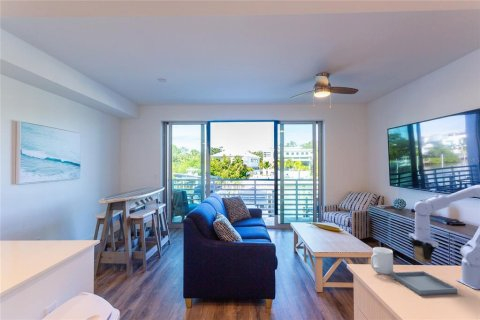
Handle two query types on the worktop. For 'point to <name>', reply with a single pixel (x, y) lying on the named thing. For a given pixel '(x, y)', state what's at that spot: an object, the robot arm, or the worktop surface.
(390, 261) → the cup
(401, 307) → the worktop surface
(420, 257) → the block
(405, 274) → the tray
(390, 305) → the worktop surface
